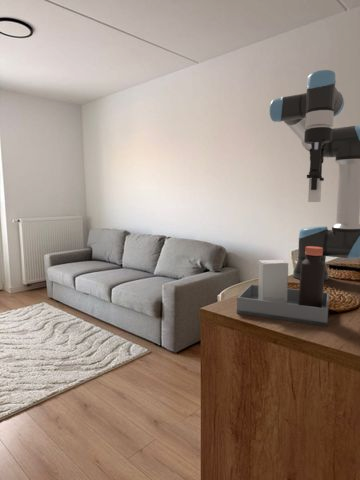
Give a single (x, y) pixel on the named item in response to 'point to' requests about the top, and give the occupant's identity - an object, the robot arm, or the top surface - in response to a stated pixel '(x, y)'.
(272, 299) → the skincare box
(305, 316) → the tray
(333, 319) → the top surface
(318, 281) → the vinegar
